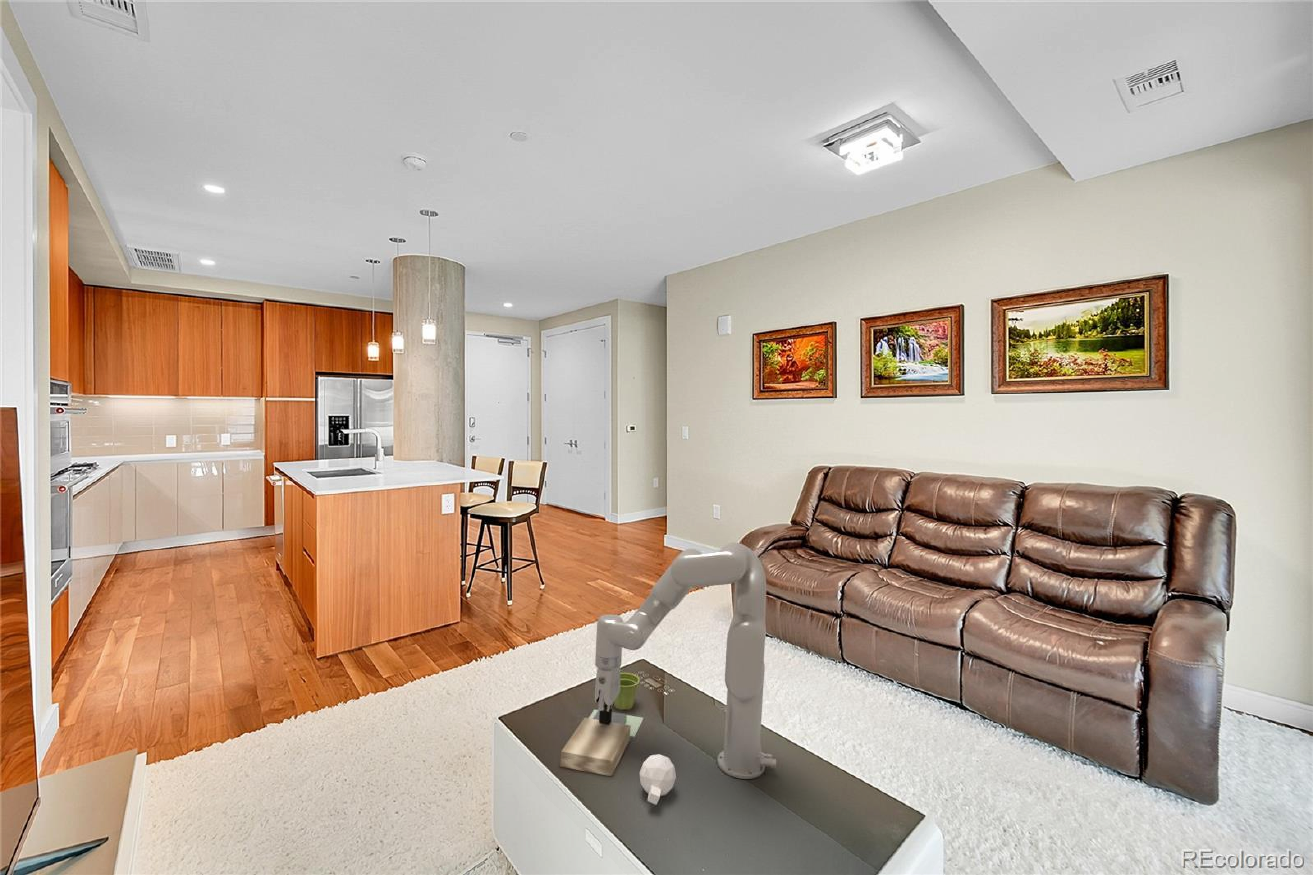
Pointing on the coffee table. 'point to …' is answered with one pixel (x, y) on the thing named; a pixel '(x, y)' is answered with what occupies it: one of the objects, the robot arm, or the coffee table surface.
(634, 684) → the plant pot
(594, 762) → the light wood flat block
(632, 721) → the mat
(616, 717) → the grey rectangular block
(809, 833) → the coffee table surface
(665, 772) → the perfume bottle
